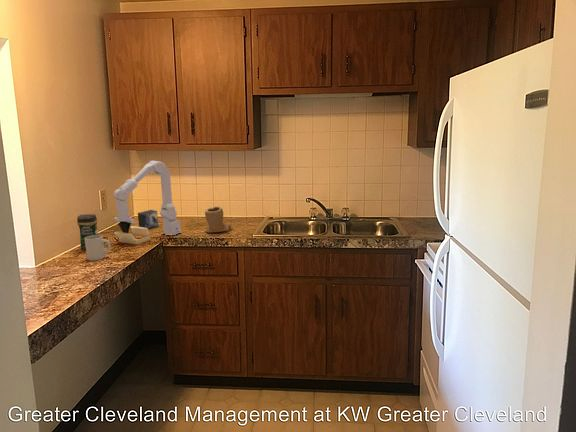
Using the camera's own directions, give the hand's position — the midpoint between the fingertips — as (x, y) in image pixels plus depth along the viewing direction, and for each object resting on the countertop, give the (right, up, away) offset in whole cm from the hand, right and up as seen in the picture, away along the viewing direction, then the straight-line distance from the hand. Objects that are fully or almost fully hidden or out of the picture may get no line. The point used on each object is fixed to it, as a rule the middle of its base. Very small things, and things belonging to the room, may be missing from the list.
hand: (126, 234), depth 252 cm
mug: (-5, -11, -22) cm, 25 cm away
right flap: (+5, +2, +8) cm, 9 cm away
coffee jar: (-18, -7, -4) cm, 20 cm away
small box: (+2, +3, +34) cm, 34 cm away
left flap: (0, 0, -1) cm, 1 cm away
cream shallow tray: (+3, -4, +6) cm, 7 cm away
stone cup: (+48, +1, +18) cm, 52 cm away
